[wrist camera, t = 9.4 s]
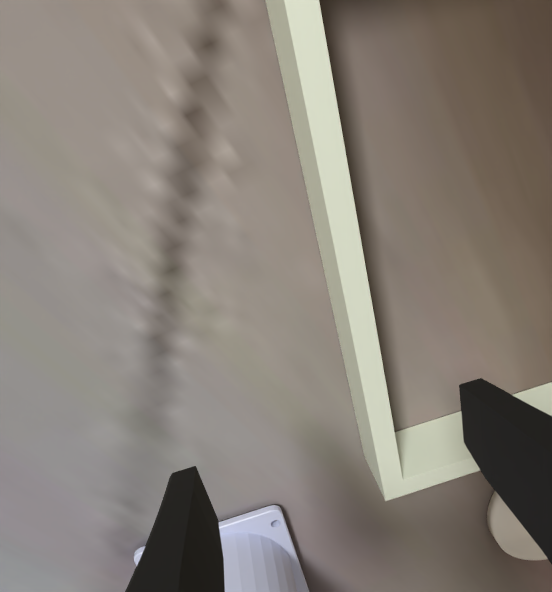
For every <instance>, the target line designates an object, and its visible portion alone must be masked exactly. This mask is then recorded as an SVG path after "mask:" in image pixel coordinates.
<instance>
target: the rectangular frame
mask: <svg viewBox="0 0 552 592" xmlns="http://www.w3.org/2000/svg"><path fill="white" fill-rule="evenodd" d="M265 1H266V6H267V10H268V15H269V19H270V24H271V29H272V33H273V38H274V42H275V47H276V52H277V56H278V61H279V65H280V70H281V75H282V79H283V84H284V88H285V93H286V98H287V102H288V107H289V111H290V116H291V121H292V125H293V130H294V135H295V139H296V144H297V148H298V153H299V158H300V162H301V167H302V171H303V176H304V181H305V185H306V190H307V194H308V199H309V204H310V208H311V213H312V217H313V222H314V227H315V231H316V236H317V240H318V245H319V250H320V254H321V259H322V263H323V268H324V273H325V277H326V282H327V286H328V291H329V296H330V300H331V305H332V309H333V314H334V319H335V323H336V328H337V332H338V337H339V342H340V346H341V351H342V356H343V360H344V365H345V369H346V374H347V379H348V383H349V388H350V392H351V397H352V402H353V406H354V411H355V415H356V420H357V425H358V429H359V434H360V438H361V443H362V448H363V452H364V457H365V459H366V461H367V463H368V465H369V467H370V469H371V472H372V474H373V476H374V478H375V480H376V482H377V484H378V486H379V488H380V491H381V493H382V495H383V497H384V499H385V501H388V500H391V499H394V498H397V497H400V496H403V495H406V494H409V493H412V492H415V491H418V490H422V489H425V488H428V487H431V486H434V485H437V484H440V483H443V482H446V481H449V480H452V479H455V478H458V477H461V476H464V475H467V474H470V473H474V472H477V471H480V469H479V467H478V465H477V464H476V462H475V461H474V459H473V457H472V455H471V454H470V452H469V450H468V449H467V447H466V445H465V443H464V439H463V426H462V413H461V411H460V412H457V413H454V414H450V415H447V416H444V417H441V418H438V419H435V420H432V421H429V422H425V423H422V424H419V425H416V426H413V427H410V428H407V429H403V430H400V431H397V432H394V426H393V420H392V415H391V409H390V403H389V398H388V392H387V386H386V380H385V375H384V369H383V363H382V357H381V352H380V346H379V340H378V335H377V329H376V323H375V317H374V312H373V306H372V300H371V295H370V289H369V283H368V277H367V272H366V266H365V260H364V255H363V249H362V243H361V237H360V232H359V226H358V220H357V215H356V209H355V203H354V197H353V192H352V186H351V180H350V174H349V169H348V163H347V157H346V152H345V146H344V140H343V134H342V129H341V123H340V117H339V112H338V106H337V100H336V94H335V89H334V83H333V77H332V72H331V66H330V60H329V54H328V49H327V43H326V37H325V31H324V26H323V20H322V14H321V9H320V3H319V0H265ZM513 396H515V397H516V398H518V399H520V400H522V401H524V402H526V403H528V404H529V405H531V406H533V407H535V408H537V409H539V410H541V411H543V412H545V413H547V414H549V415H551V416H552V382H551V383H547V384H544V385H541V386H538V387H535V388H532V389H529V390H525V391H522V392H519V393H516V394H513Z"/></svg>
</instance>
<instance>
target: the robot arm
mask: <svg viewBox="0 0 552 592" xmlns="http://www.w3.org/2000/svg"><path fill="white" fill-rule="evenodd" d="M459 388H460V401H461V413H462V426H463V439H464V443H465V445H466V447H467V449H468V450H469V452H470V454H471V455H472V457H473V459H474V461H475V462H476V464H477V465H478V467H479V469H480V470H481V472H482V473H483V475H484V477H485V478H486V479H487V481H488V482H489V483H490V485H491V486H492V487H493V488H494V490H495V491H496V492H497V494H498V495H499V496H500V497H501V499H502V500H503V501H504V503H505V504H506V505H507V506H508V508H509V509H510V510H511V512H512V513H513V514H514V515H515V517H516V518H517V519H518V520H519V522H520V523H521V524H522V526H523V527H524V528H525V529H526V531H527V532H528V533H529V535H530V536H531V537H532V538H533V540H534V541H535V542H536V543H537V545H538V546H539V547H540V549H541V550H542V551H543V553H544V554H545V555H546V557H547V558H548V560H549V561H550V562H551V564H552V416H551V415H549V414H547V413H545V412H543V411H541V410H539V409H537V408H535V407H533V406H531V405H529V404H528V403H526V402H524V401H522V400H520V399H518V398H516V397H515V396H513V395H511V394H509V393H507V392H505V391H504V390H502V389H500V388H498V387H496V386H495V385H493V384H491V383H489V382H487V381H485V380H483V379H481V378H480V379H477V380H474V381H470V382H467V383H464V384H461V385H459ZM274 520H277V521H274ZM134 562H135V564H136V565H137V567H136V569H135V571H134V574H133V576H132V578H131V580H130V582H129V585H128V587H127V589H126V591H125V592H309V589H308V586H307V583H306V580H305V577H304V574H303V571H302V568H301V565H300V562H299V559H298V557H297V554H296V551H295V548H294V545H293V542H292V539H291V536H290V533H289V530H288V527H287V524H286V521H285V519H284V516H283V513H282V510H281V508H280V507H279V506H277V505H271V506H267V507H264V508H261V509H258V510H255V511H252V512H249V513H246V514H243V515H240V516H237V517H233V518H230V519H227V520H224V521H221V522H218V519H217V516H216V514H215V511H214V509H213V507H212V504H211V502H210V499H209V497H208V495H207V492H206V490H205V487H204V485H203V483H202V480H201V478H200V475H199V473H198V471H197V468H196V466H194V467H191V468H187V469H184V470H181V471H178V472H174V473H172V475H171V476H170V478H169V482H168V485H167V488H166V491H165V494H164V497H163V500H162V503H161V506H160V509H159V512H158V515H157V517H156V520H155V523H154V526H153V528H152V531H151V533H150V536H149V538H148V541H147V543H146V546H144V547H141V548H139V549H137V550H136V551H135V554H134Z"/></svg>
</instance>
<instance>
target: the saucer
mask: <svg viewBox="0 0 552 592" xmlns="http://www.w3.org/2000/svg"><path fill="white" fill-rule="evenodd" d="M487 523H488V527H489V530H490V532H491V534H492V535H493V537H494V538H495V540H496V541H497V543H498V544H499V546H500V547H501V548H502V549H503V550H504V551H505V552H506V553H508V554H509V555H511V556H513V557H516V558H519V559H524V560H545V559H548V558H547V557H546V555H545V554H544V553H543V551H542V550H541V549H540V547H539V546H538V545H537V543H536V542H535V541H534V540H533V538H532V537H531V536H530V535H529V533H528V532H527V531H526V529H525V528H524V527H523V526H522V524H521V523H520V522H519V520H518V519H517V518H516V517H515V515H514V514H513V513H512V512H511V510H510V509H509V508H508V506H507V505H506V504H505V503H504V501H503V500H502V499H501V497H500V496H499V495H498V494H497V492H496V491H494V493H493V495H492V497H491V500H490V503H489V505H488V510H487Z"/></svg>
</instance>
